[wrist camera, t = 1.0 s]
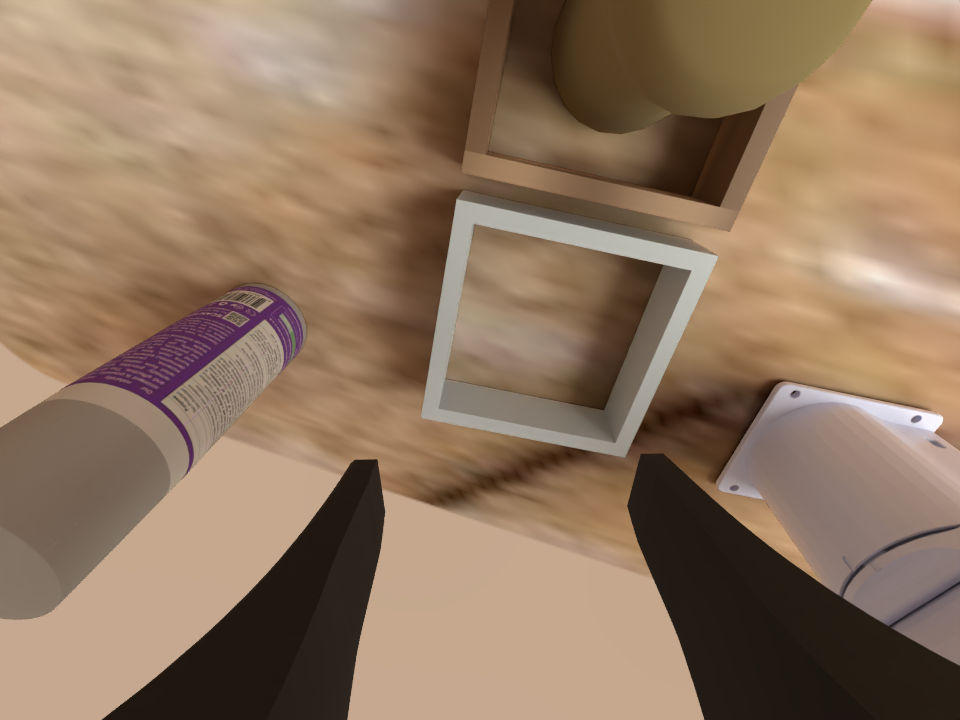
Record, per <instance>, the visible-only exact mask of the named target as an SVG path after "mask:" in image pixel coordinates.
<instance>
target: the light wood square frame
mask: <svg viewBox="0 0 960 720" xmlns="http://www.w3.org/2000/svg"><path fill="white" fill-rule="evenodd" d="M515 5H516V0H489V5H488V11H487V17H486V23H485V29H484V35H483V41H482V48H481V54H480V60H479V66H478V72H477V78H476V84H475V90H474V96H473V102H472V109H471V115H470V121H469V127H468V133H467V139H466V145H465V151H464V157H463V164H462V170H461V173H465V174H469V175H474V176H479V177H483V178H488V179H492V180H497V181H501V182H506V183H510V184H515V185H519V186H524V187H528V188H533V189H537V190H542V191H547V192H551V193H556V194H560V195H565V196H569V197H574V198H578V199H583V200H587V201H592V202H596V203H601V204H606V205H610V206H615V207H619V208H624V209H628V210H633V211H637V212H642V213H646V214H651V215H655V216H660V217H665V218H669V219H674V220H678V221H683V222H687V223H692V224H696V225H701V226H705V227H710V228H714V229H719V230H724V231H728V232H730V231H731V229H732V226H733V224H734V222H735V220H736V218H737V216H738V213H739V211H740V209H741V207H742V205H743V203H744V201H745V198H746V196H747V194H748V192H749V190H750V188H751V186H752V183H753V181H754V179H755V177H756V175H757V173H758V171H759V168H760V166H761V164H762V162H763V160H764V158H765V155H766V153H767V151H768V149H769V147H770V145H771V143H772V140H773V138H774V136H775V134H776V132H777V130H778V128H779V125H780V123H781V121H782V119H783V117H784V115H785V113H786V110H787V108H788V106H789V104H790V102H791V100H792V97H793V95H794V93H795V91H796V89H797V87H798V85H799V84H798V85H797V86H795V87H793V88H792V89H790V90H788V91H786V92H785V93H783V94H781V95H779V96H777V97H776V98H774V99H772V100H770V101H769V102H767V103H765V104H763V105H762V106H760V107H758V108H756V109H754V110H750V111H746V112H741V113H737V114H733V115H728V116H724V118H723V120H722V123H721V125H720V128H719V130H718V132H717V135H716V137H715V140H714V142H713V145H712V147H711V150H710V152H709V154H708V157H707V159H706V162H705V164H704V167H703V169H702V172H701V174H700V177H699V179H698V181H697V184H696V186H695V189H694V191H693V194H692V196H686V195H682V194H677V193H673V192H668V191H664V190H659V189H655V188H650V187H646V186H641V185H637V184H632V183H628V182H623V181H619V180H614V179H610V178H605V177H601V176H596V175H592V174H588V173H583V172H579V171H574V170H570V169H565V168H561V167H556V166H552V165H547V164H543V163H538V162H534V161H529V160H525V159H520V158H516V157H511V156H507V155H502V154H498V153H493V152H489V151H488V149H489V144H490V139H491V133H492V128H493V123H494V117H495V112H496V107H497V101H498V96H499V91H500V85H501V80H502V75H503V69H504V64H505V59H506V53H507V48H508V43H509V37H510V32H511V27H512V21H513V16H514V11H515Z"/></svg>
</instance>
